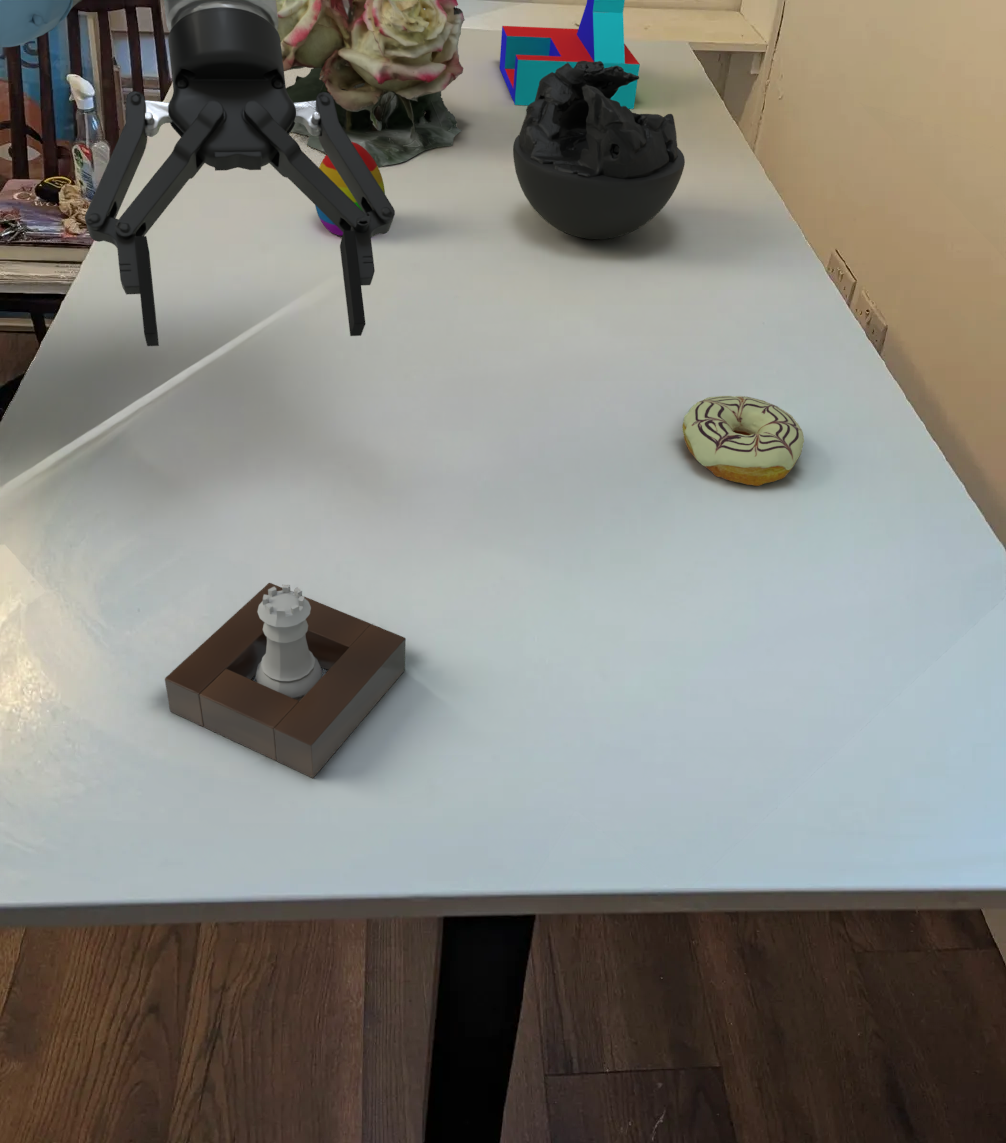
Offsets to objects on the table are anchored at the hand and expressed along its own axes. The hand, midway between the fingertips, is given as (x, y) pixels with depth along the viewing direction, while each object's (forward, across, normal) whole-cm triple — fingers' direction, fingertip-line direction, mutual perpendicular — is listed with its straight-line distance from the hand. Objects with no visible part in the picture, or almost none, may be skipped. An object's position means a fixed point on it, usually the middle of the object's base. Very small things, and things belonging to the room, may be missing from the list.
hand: (257, 335), depth 76 cm
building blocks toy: (-68, -58, -92) cm, 129 cm away
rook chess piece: (+24, 0, -1) cm, 24 cm away
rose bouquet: (-52, -24, -76) cm, 95 cm away
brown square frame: (+24, 0, -1) cm, 24 cm away
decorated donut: (+8, -42, -16) cm, 45 cm away
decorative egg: (-29, -15, -54) cm, 63 cm away
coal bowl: (-26, -44, -50) cm, 72 cm away
